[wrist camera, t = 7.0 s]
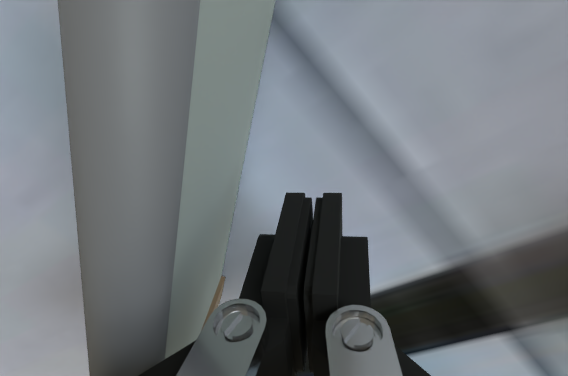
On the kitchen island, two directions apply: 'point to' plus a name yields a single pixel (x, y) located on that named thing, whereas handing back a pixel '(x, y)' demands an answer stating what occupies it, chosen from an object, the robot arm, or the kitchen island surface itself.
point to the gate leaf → (156, 163)
